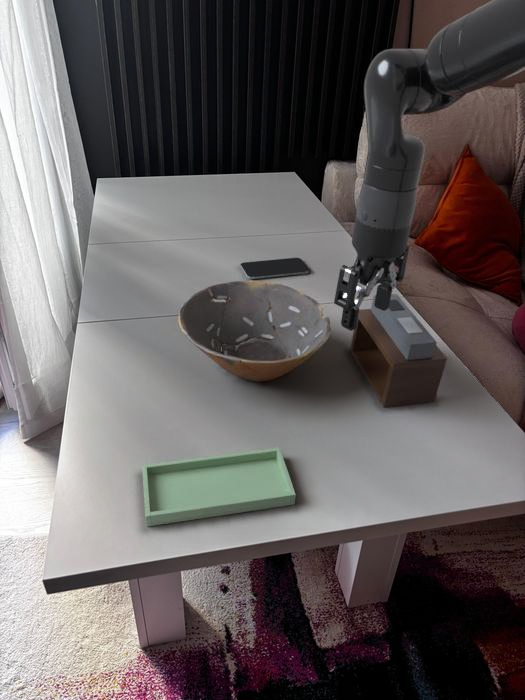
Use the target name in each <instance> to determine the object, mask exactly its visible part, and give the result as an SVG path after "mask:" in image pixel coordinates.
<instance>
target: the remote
mask: <svg viewBox="0 0 525 700" xmlns="http://www.w3.org/2000/svg"><path fill="white" fill-rule="evenodd" d="M372 296H373V297H372V302H371V306H370V309H371V311H372V313H373V314H374V315H375V317H376V318H377V320H378V321H379V322H380V324H381V325H382V326H383V328H384V329H385V331H386V332H387V333H388V335H389V336H390V338H391V339H392V340H393V342H394V343H395V344H396V346H397V347H398V349H399V350H400V351H401V353H402V354H403V356H404V357H405V358H406V360H414V359H425V358H432V357H433V354H434V350H435V347H436V346H437V343H438V342H437V341H436V339H435V338H434V337H433V336H432V335H431V333H430V332H429V331H428V330H427V329H426V327H425V326H424V324H423V323H422V322H420V320H419V319H418V318H417V316H416V315H415V314H414V312H412V310H411V309H410V308H409V307H408V306H407V304H406V303H405V301H403V299H402V298H401V297H400V296H399V295H398V294H397V293H392V294H391V298H390V303H389V308H388V309H387V310H385V311H382V310H380V309H378V308H376V307H375V306H374V303H375V297H376V294H374V295H372Z"/></svg>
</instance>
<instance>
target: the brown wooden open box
mask: <svg viewBox="0 0 525 700" xmlns="http://www.w3.org/2000/svg"><path fill="white" fill-rule="evenodd" d="M349 352H350V354H351V355H352V357H353V359H354V361H355V362H356V364H357V365H358V367H359V369H360V371H361V372H362V374H363V376H364V377H365V379H366V380H367V382H368V384H369V385H370V387H371V389H372V391H373V392H374V394H375V396H376V397H377V399H378V401H379V402H380V404H381V406H382V407H383V408H393V407H394V408H395V407H401V406H410V405H419V404H428V403H434V402H435V400H436V396H437V393H438V390H439V387H440V383H441V380H442V377H443V373H444V371H445V367H446V363H447V361H448V357H446V355H445V354H444V353H443V351H442V350H441V349H440V348H439V346H437V345H436V347H435V350H434V354H433V357H432V358H425V359H414V360H406V358H405V357H404V356H403V354H402V353H401V351H400V350H399V349H398V347H397V346H396V344H395V343H394V342H393V340H392V339H391V338H390V336H389V335H388V333H387V332H386V331H385V329H384V328H383V326H382V325H381V324H380V322H379V321H378V320H377V318H376V317H375V315H374V314H373V313H372V311H371V308H365V309H364V308H362V309H359V314H358V319H357V325H356V328H355V329H354V330H353V332H352V338H351V343H350V348H349Z"/></svg>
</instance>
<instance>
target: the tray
mask: <svg viewBox="0 0 525 700" xmlns="http://www.w3.org/2000/svg"><path fill="white" fill-rule="evenodd" d="M141 468H142V470H141V471H142V482H143V485H142V486H143V498H144V499H143V500H144V501H143V502H144V515H145V525H146V527H153V526H159V525H161V526H162V525H165V524H166V525H167V524H172V523H179V522H181V523H182V522H186V521H187V522H188V521H195V520H200V519H207V518H213V517H214V518H215V517H219V516H227V515H232V514H233V515H234V514H239V513H240V514H241V513H247V512H253V511H260V510H268V509H274V508H280V507H286V506H294V505H295V503H296V496H297V495H296V491H295V488H294V485H293V482H292V480H291V477H290V473H289V471H288V468H287V464H286V461H285V460H284V456H283V453H282V450H281V447H272V448H265V449H258V450H257V449H256V450H250V451H242V452H241V451H240V452H233V453H226V454H224V453H223V454H217V455H210V456H200V457H195V458H186V459H178V460H170V461H161V462H153V463H147V464H141Z"/></svg>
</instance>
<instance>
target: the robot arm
mask: <svg viewBox="0 0 525 700" xmlns="http://www.w3.org/2000/svg"><path fill="white" fill-rule="evenodd" d="M524 71H525V0H490V1H488V2H487V3H485V4H483V5H481V6H479V7H476V9H474V10H472V11H470V12H469V13H466V14H465V15H464V16H461V17H460V18H458V19H456V20H454V21H453V22H451V23H449V24H447V25H446V26H444V27H443V28H442V29H441V30H439V31H438V32H437V33H436V34H435V35H434V36H433V37H432V39H431V41H430V42H429V45H428V46H427V48H389V49H384V50H382V51H380V52H379V53H377V54H376V56H375V57H374V58H373V59H372V61H371V62H370V64H369V65H368V68H367V70H366V73H365V75H364V79H363V93H362V94H363V105H364V113H365V119H366V120H365V122H366V123H365V124H366V136H367V155H366V156H367V157H366V161H365V167H364V174H363V180H362V184H361V188H360V191H359V195H358V200H357V206H356V213H355V219H354V224H353V231H352V238H351V245H352V247H353V248H354V250H355V251H356V254H357V255H356V258H355V261H354V263H353V265H352V266H348V265H346V264H343V265H342V266H341V267H340V269H339V273H338V278H337V285H336V289H335V295H334V300H333V302H334V305H337V306H339V307H340V308H342V314H341V319H340V324H341V327H343V328H344V329H346V330H349V331H354V329H355V328H356V325H357V319H358V314H359V310H360V306H361V305H362V303H363V301H364V298H367V297H369V296H370V295H371V293H372V291H373V289H374V287H376V286H377V287H376V288H377V289H376V293H375V295H376V297H375V303H374V306H375V307H376V308H378V309H380V310H382V311H385V310H387V309H388V308H389V303H390V298H391V294H393V290H394V289H395V288H396V287H397V284H398V282H402V281H403V280H404V277H405V273H406V267H407V261H408V257H409V251H410V246H409V245H408V241H409V237H410V233H411V228H412V225H413V220H414V219H413V218H414V215H415V214H414V213H415V209H416V205H417V197H418V195H417V194H418V186H419V183H420V178H421V173H422V170H423V169H422V168H423V164H424V158H425V154H426V153H425V152H426V146H425V142H424V141H423V140H422V139H421V138H420V137H419V136H416V135H414V134H411V133H408V132H404V129H403V116H413V115H427V114H432V113H436V112H440V111H442V110H444V109H446V108H449V107H450V106H452V105H453V104H455V103H456V102H458V101H459V100H461V99H462V98H464V97H465V96H466V95H468V94H470V93H472V92H475V91H479V90H480V89H483V88H487V87H488V86H491V85H493V84H494V85H495V84H496V83H498V82H501V81H503V80H504V81H505V80H507V79H508V78H511V77H513V76H515V75H517V74H519V73H521V72H524ZM395 267H397V268H398V271H397V270H396V269H395ZM358 283H359V284H360V285H363V286H364V287H360V286H358V285H359V284H358ZM356 293H357V296H356Z"/></svg>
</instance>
